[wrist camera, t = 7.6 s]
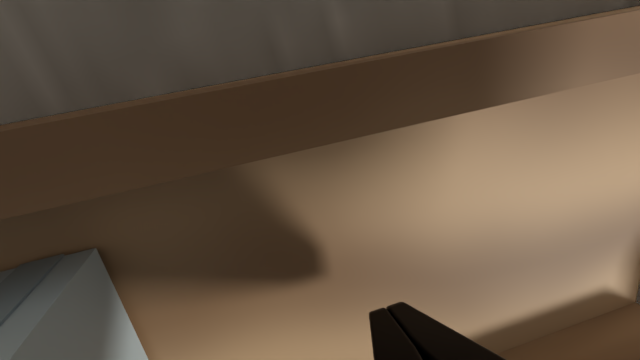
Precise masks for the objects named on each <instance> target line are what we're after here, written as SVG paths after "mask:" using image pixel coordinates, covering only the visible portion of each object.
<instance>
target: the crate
mask: <svg viewBox="0 0 640 360" xmlns="http://www.w3.org/2000/svg"><path fill="white" fill-rule="evenodd" d="M0 360H148V358H147V355H146V353H145V351H144V349H143V347H142V345H141V343H140V340H139V338H138V336H137V334H136V332H135V330H134V328H133V326H132V323H131V321H130V319H129V317H128V315H127V313H126V311H125V309H124V306H123V304H122V302H121V300H120V298H119V296H118V294H117V291H116V289H115V287H114V285H113V283H112V281H111V279H110V277H109V274H108V272H107V270H106V268H105V266H104V264H103V262H102V260H101V257H100V255H99V253H98V251H97V249H96V248H93V249H89V250H85V251H81V252H77V253H73V254H69V255H64V254H60V255H56V256H52V257H48V258H44V259H40V260H36V261H32V262H28V263H24V264H20V265H19V266H18V267H17V268H14V269H10V270H6V271H2V272H0Z"/></svg>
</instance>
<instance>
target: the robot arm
mask: <svg viewBox="0 0 640 360" xmlns="http://www.w3.org/2000/svg"><path fill="white" fill-rule="evenodd" d="M369 322H370V331H371V340H372V349H373V358H374V360H506V359H505V358H503V357H501V356H499V355H497V354H496V353H494V352H492V351H490V350H489V349H487V348H485V347H483V346H481V345H480V344H478V343H476V342H474V341H473V340H471V339H469V338H467V337H465V336H464V335H462V334H460V333H458V332H456V331H455V330H453V329H451V328H449V327H448V326H446V325H444V324H442V323H440V322H439V321H437V320H435V319H433V318H432V317H430V316H428V315H426V314H424V313H423V312H421V311H419V310H417V309H415V308H414V307H412V306H410V305H408V304H407V303H405V302H398V303H395V304H392V305H389V306H387V307H386V308H380V309H376V310H373V311H371V312H369Z"/></svg>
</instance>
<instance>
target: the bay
mask: <svg viewBox="0 0 640 360" xmlns="http://www.w3.org/2000/svg"><path fill="white" fill-rule="evenodd" d="M93 248H96V249H97V251H98V253H99V255H100V257H101V260H102V262H103V264H104V266H105V268H106V270H107V272H108V274H109V277H110V279H111V281H112V283H113V285H114V287H115V289H116V291H117V294H118V296H119V298H120V300H121V302H122V304H123V306H124V309H125V311H126V313H127V315H128V317H129V319H130V321H131V323H132V326H133V328H134V330H135V332H136V334H137V336H138V338H139V340H140V343H141V345H142V347H143V349H144V351H145V353H146V355H147V358H148V360H374V358H373V349H372V340H371V331H370V322H369V312H371V311H373V310H376V309H380V308H386V307H387V306H389V305H392V304H395V303H398V302H405V303H407V304H408V305H410V306H412V307H414V308H415V309H417V310H419V311H421V312H423V313H424V314H426V315H428V316H430V317H432V318H433V319H435V320H437V321H439V322H440V323H442V324H444V325H446V326H448V327H449V328H451V329H453V330H455V331H456V332H458V333H460V334H462V335H464V336H465V337H467V338H469V339H471V340H473V341H474V342H476V343H478V344H480V345H481V346H483V347H485V348H487V349H489V350H490V351H492V352H494V353H496V354H497V355H499V356H501V357H503V358H505V359H506V360H640V305H639V304H637V303H636V297H637V292H638V287H639V283H640V6H635V7H629V8H624V9H619V10H613V11H608V12H602V13H597V14H592V15H586V16H581V17H576V18H570V19H565V20H560V21H554V22H549V23H544V24H538V25H533V26H528V27H522V28H517V29H512V30H506V31H501V32H496V33H490V34H485V35H480V36H474V37H469V38H463V39H458V40H453V41H447V42H442V43H437V44H431V45H426V46H421V47H415V48H410V49H405V50H399V51H394V52H389V53H383V54H378V55H373V56H367V57H362V58H357V59H351V60H346V61H341V62H335V63H330V64H325V65H319V66H314V67H308V68H303V69H298V70H292V71H287V72H282V73H276V74H271V75H266V76H260V77H255V78H250V79H244V80H239V81H234V82H228V83H223V84H218V85H212V86H207V87H202V88H196V89H191V90H186V91H180V92H175V93H169V94H164V95H159V96H153V97H148V98H143V99H137V100H132V101H127V102H121V103H116V104H111V105H105V106H100V107H95V108H89V109H84V110H79V111H73V112H68V113H63V114H57V115H52V116H47V117H41V118H36V119H31V120H25V121H20V122H14V123H9V124H4V125H0V272H2V271H6V270H10V269H14V268H17V267H18V266H19V265H20V264H24V263H28V262H32V261H36V260H40V259H44V258H48V257H52V256H56V255H60V254H64V255H69V254H73V253H77V252H81V251H85V250H89V249H93Z"/></svg>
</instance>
